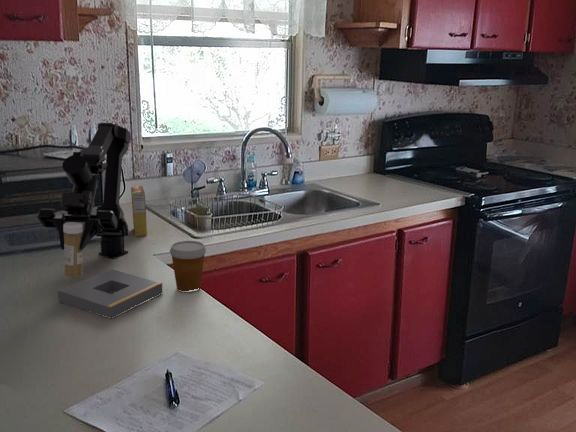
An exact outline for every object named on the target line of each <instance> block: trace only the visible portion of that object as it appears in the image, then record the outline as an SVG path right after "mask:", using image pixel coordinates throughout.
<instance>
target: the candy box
mask: <svg viewBox="0 0 576 432" xmlns="http://www.w3.org/2000/svg"><path fill="white" fill-rule="evenodd" d="M130 190H131V191H130V192H131V193H130V194H131V209H132V220H133V221H132V223H133V230H134V236H135V237H142V236H143V237H144V236H147V235H148V227H147V210H146V209H147V206H146V193H145V190H144V186H143V185H138V186H137V185H136V186H131V187H130Z"/></svg>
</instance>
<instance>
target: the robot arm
mask: <svg viewBox="0 0 576 432" xmlns="http://www.w3.org/2000/svg"><path fill="white" fill-rule="evenodd" d="M131 140H132V134H131V132H130V131H129V130H128V129H127V128H126V127H123V126H120V125H118V124H117V123H114V122H100V123H97V129H96V132H95V134H94V135H93V137H92V140H91V141H90V143H89V145H88V146H87V147H85V148H82V149H81V150H80V151H73V152H72V155H70V156H68V157H66V158H65V160H64V161H62V166H61V167H62V169H63V171H64V173H65V174H66V176H67V179H68V180H69V182H70V184H72V185H73V187H72V190H71V191H72V192H71V191H70V192H62V193H61V195H60V196H61V198H60V206H61V207H63V210H64V212H67V213H63V212H58V211H57V210H56V208H48V207H47V208H44V207H42V208H40V209H39V210H38V212H37V216H36V218H37V219H38V221H39V222H40V223H41V225H42V226H43V227H44V228H49V229H51V228H52V229H54V228H55V229H56V230H57V231H58V238H59V244H60V249H61V250H63V251H64V232H63V225H64V224H65V223H68V222H79V223H84V227H83V229H84V230H83V232H82V239H81V243H80V250H82V251H83V250H84V249H85V247H86V246H87V245H88V244H89V243H90V241H91V240H92V239H93V238H94V237H95V236H96V237H101V241H100V251H99V252H98V255H99V256H104V257H107V258H111V259H115V258H118V257H120V256H124V255H126V254H129V251H128V250H125V237H127V236H129V225H128V223H127V221H126V218H125V213H124V211H123V209H122V207H121V205H120V193H121V182H122V181H121V180H122V167H123V166H122V165H123V158H124V156H125V155H126V153H127V152H128V150H129V145H130V143H131V142H132V141H131ZM104 171H105V173H104ZM103 174H105V175H104V188H103V189H104V190H103V201H102V203H101V204H100V206H98V207H97V208H96V214H92V213H93V208H95V204H96V203H95V197H96V192H97V189H99V184H98V183H99V180H98V178H97V177H96V176H99V175H101V176H102V175H103ZM95 175H96V176H95Z"/></svg>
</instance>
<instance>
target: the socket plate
mask: <svg viewBox="0 0 576 432" xmlns="http://www.w3.org/2000/svg"><path fill="white" fill-rule="evenodd" d="M114 291H115V292H114ZM57 292H58V293H57V294H58V302H59V303H61V304H65V305H67V306H70V307H73V306H74V308H76V307H77V308H76V309H79V308H80V310H82V309H84V310H83V311H85V310H87V311H86V312H88V311H91V312H94V313H97V314H100V315H104V316H107V317H110V318H112V317H114V316H116V315H118V314H120V313H122V312H124V311H126V310H128V309H130V308H131V307H134V306H135V305H138V304H140V303H142V302H144V301H146V300H148V299H150V298H152V297H155V296H157V295H159V294H161V293H163V292H164V291H163V282H161V281H155V280H151V279H147V278H144V277H140V276H137V275H134V274H130V273H127V272H123V271H119V270H116V269H109V270H106V271H104V272H102V273H99V274H97V275H94V276H92V277H89V278H85V279H84V280H81V281H79V282H76V283H74V284H71V285H69V286H66V287H63V288H62V289H58V291H57ZM110 292H113V293H110ZM91 312H90V313H91ZM94 313H93V314H94ZM97 314H96V315H97ZM100 315H99V316H100Z"/></svg>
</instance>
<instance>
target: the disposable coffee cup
mask: <svg viewBox="0 0 576 432" xmlns="http://www.w3.org/2000/svg"><path fill="white" fill-rule="evenodd" d="M206 252H207V248H206V247H205V244H204V243H203V242H201V241H197V240H182V241H177V242H173V244H172V245H171V246H170V249H169V253H170V256H171V259H172V267H173V272H174V279H175V286H176V290H177V289H178V290H181V291H189V290H194V289H198V288H199V290H200V289H202V288H201V285H202V277H203V270H204V261H205V254H206ZM178 290H177V291H178ZM181 291H180V292H181Z"/></svg>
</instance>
